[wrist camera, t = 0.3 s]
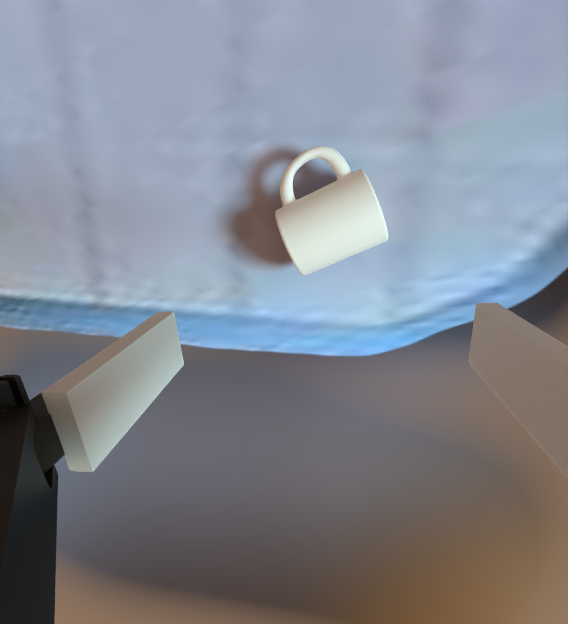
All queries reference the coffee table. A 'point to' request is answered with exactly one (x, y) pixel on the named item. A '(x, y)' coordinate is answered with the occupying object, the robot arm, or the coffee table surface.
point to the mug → (329, 215)
